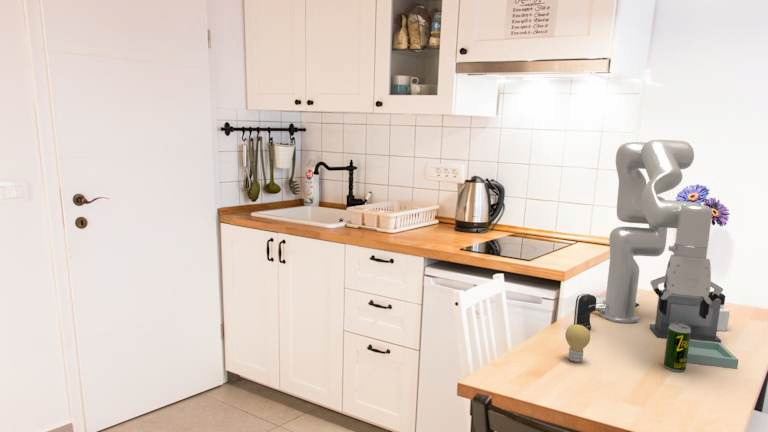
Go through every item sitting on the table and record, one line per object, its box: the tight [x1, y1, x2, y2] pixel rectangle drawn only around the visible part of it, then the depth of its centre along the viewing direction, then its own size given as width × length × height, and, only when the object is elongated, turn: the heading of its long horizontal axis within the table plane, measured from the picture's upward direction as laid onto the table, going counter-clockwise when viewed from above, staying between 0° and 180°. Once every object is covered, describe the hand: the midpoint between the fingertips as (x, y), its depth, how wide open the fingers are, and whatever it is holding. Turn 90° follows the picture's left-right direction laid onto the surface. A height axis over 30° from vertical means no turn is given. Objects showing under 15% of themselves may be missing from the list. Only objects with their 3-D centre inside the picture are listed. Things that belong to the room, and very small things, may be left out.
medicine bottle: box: [709, 290, 730, 332], centre depth 185 cm, size 7×7×12 cm
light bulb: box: [565, 324, 591, 363], centre depth 151 cm, size 6×6×10 cm
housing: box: [649, 289, 722, 344], centre depth 175 cm, size 18×9×14 cm, turn 78°
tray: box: [687, 339, 739, 369], centre depth 159 cm, size 13×13×3 cm
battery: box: [573, 293, 597, 330], centre depth 176 cm, size 7×4×11 cm, turn 129°
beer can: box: [663, 323, 691, 373], centre depth 149 cm, size 5×5×12 cm
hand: (682, 315), depth 147 cm, fingers open, 9 cm apart
